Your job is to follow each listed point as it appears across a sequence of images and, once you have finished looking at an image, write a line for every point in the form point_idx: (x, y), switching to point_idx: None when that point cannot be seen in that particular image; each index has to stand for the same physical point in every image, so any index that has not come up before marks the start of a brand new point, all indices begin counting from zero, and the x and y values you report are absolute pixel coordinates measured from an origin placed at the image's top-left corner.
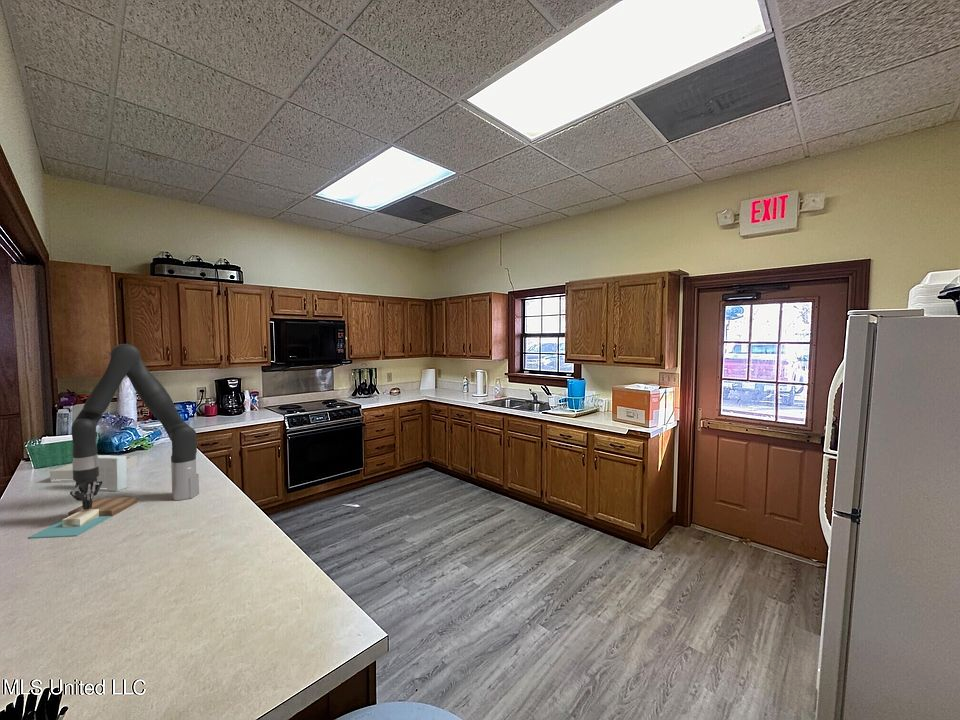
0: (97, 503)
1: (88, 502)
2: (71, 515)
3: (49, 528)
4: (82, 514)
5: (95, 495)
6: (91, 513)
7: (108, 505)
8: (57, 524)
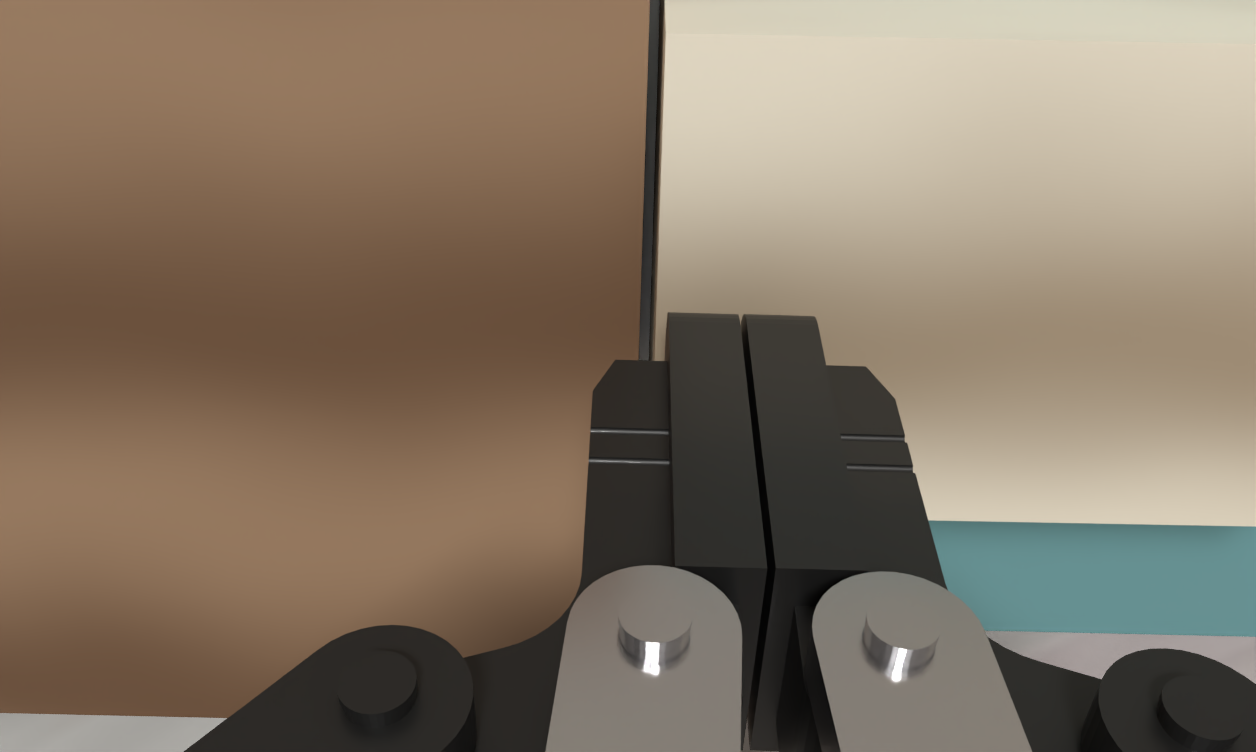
0: (1, 495)
1: (844, 506)
2: (1098, 508)
3: (1227, 581)
4: (1129, 259)
5: (412, 633)
6: (1057, 31)
7: (89, 42)
8: (1021, 577)
